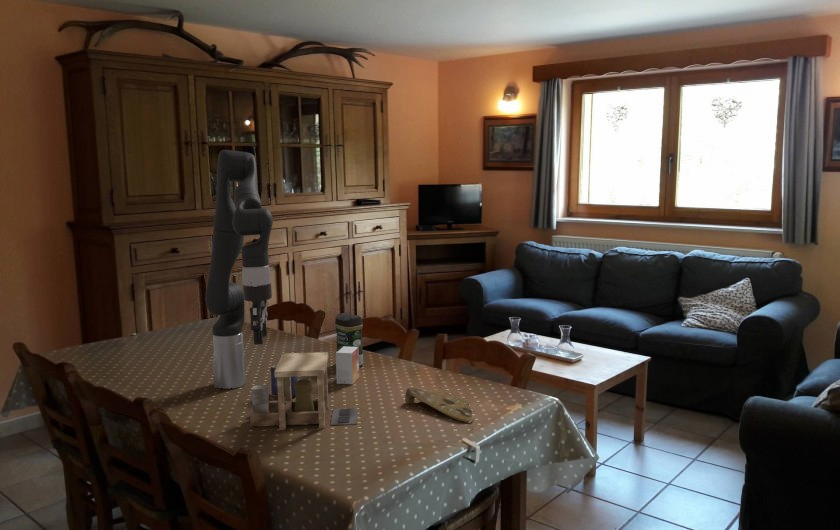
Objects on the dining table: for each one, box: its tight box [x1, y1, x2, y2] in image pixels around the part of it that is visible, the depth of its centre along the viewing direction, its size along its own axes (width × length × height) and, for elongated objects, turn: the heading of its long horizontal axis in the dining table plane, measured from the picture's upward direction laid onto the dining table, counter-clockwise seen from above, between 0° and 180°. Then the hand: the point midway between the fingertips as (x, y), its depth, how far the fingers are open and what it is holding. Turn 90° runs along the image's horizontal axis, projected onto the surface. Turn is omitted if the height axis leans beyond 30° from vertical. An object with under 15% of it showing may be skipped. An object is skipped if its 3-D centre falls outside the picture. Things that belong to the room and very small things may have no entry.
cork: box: [294, 378, 315, 412], centre depth 186 cm, size 6×6×11 cm
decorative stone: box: [404, 386, 472, 423], centre depth 194 cm, size 25×15×5 cm, turn 41°
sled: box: [249, 384, 327, 427], centre depth 186 cm, size 20×11×9 cm, turn 94°
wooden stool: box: [274, 351, 358, 431], centre depth 186 cm, size 21×17×16 cm
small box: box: [335, 346, 360, 385], centre depth 219 cm, size 8×6×10 cm
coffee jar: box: [334, 312, 364, 368], centre depth 235 cm, size 10×8×19 cm
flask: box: [270, 363, 300, 398], centre depth 205 cm, size 9×3×11 cm, turn 74°
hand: (260, 340), depth 184 cm, fingers open, 8 cm apart
